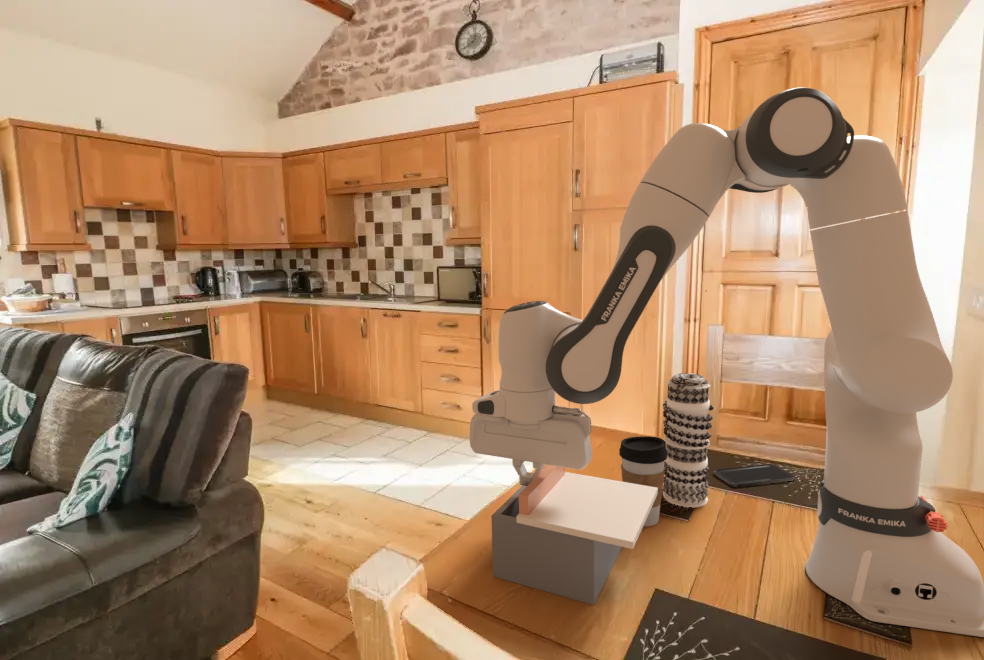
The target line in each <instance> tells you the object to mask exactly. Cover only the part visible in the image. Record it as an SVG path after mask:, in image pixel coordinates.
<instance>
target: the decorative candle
mask: <svg viewBox="0 0 984 660" xmlns="http://www.w3.org/2000/svg"><path fill="white" fill-rule="evenodd" d="M666 385H667V396H666V400H665V401H664V402H663V404H662V407H663V412H662V415H663V417H664V419H665V420H663V423H662V424H663V427H664V428H663V434H664V435H665V436H664V439H663V440H664V441H665V442H666V451H667V459H666V460H665V461H664V467H665V473H664V481H663V489H662V491H663V492H662V495H663V499H664V498H665V499H664V500H665V501H667V503H669V504H672V505H674V504H675V505H674V506H677V505H678V507H681V506H683V507H682V508H689V507H692V509H695V508H701V507H704V506H705V505H707V503H708V502H709V498H708V496H709V487H710V486H709V482H708V479H710V478H709V477H710V476H709V473H708V472H710V467H709V465H708V464H709V463H708V462H709V461H708V460H709V459H708V456H707V454H708V449H707V448H708V447H709V446H710V444H711V443H710V440H709V439H710V438H712V434H711V433H710V432H708V430H710V429H712V428H713V426H712V423H711V422H710V421H712V420H713V418H714V417H713V416H712V415H711V414H710V413H709V412H711V411H713V410H714V406H712V404H710V403H711V401H710V399H709V395H710V391H709V388H710V387H711V386H712V384H711V383H710V382H708V380H707V379H706V378H705V377H704V375H701V374H698V373H690V372H689V373H688V372H683V373H682V372H681V373H676V374H674V375H672V376H671V379H670V380H668V381H666ZM708 410H709V411H708Z"/></svg>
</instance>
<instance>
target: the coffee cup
mask: <svg viewBox="0 0 984 660" xmlns="http://www.w3.org/2000/svg"><path fill="white" fill-rule="evenodd" d="M666 447H667V443H666V442H665V440H664V439H663V438H661V437H657V436H650V435H648V436H647V435H645V436H643V435H642V436H641V435H640V436H631V437H626V438H623V439H622V440H621V441H620V448H618V449H619V454H618V455H619V457H620V458H621V464H620V469H621V478H622V479H621V480H622V482H627V483H633V484H639V485H645V486H651V487H657V488H658V494H657V496H656V499H655V501H654V503H653V505H652V508H651V510H650V512H649V514H648V517H647V519H646V521H645V523H644V526H643V527H652V526H655V525H657V524H658V523H659V521H660V511H661V503H662V498H663V497H662V495H663V485H664V483H663V481H664V477H665V475H664V473H665V467H664V462H665V460H666V459H667V451H666Z"/></svg>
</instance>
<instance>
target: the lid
mask: <svg viewBox="0 0 984 660" xmlns="http://www.w3.org/2000/svg"><path fill="white" fill-rule="evenodd" d="M657 494H658V488H657V487H651V486H645V485H639V484H633V483H627V482H623V480H622V481H620V480H614V479H608V478H604V477H603V478H602V477H599V476H598V477H597V476H591V475H586V474H585V475H584V474H579V473H575V472H574V473H573V472H568V471H566V468H565V467H559V466H553V465H546V466H545V467H544V469H543V470H542V472H541V473H540V474H539V475H538V476H537V477H536V478H535V479H534V480H533V481H532V482H531V483H530V484H529V485H528V486H527V487H526V488H525V489H524V490H523V491H522V492H521V493H520V494H519V514H518V515H517V516H516V521H517V523H520V524H525V525H529V526H533V527H538V528H542V529H547V530H551V531H555V532H560V533H564V534H569V535H573V536H577V537H582V538H586V539H591V540H595V541H599V542H604V543H608V544H613V545H617V546H621V547H622V548H626V549H630V550H634V548H635V545H636V544H637V541H638V539H639V537H640V535H641V533H642V531H643V528H644V527H645V526H644V523H645V521H646V519H647V517H648V514H649V512H650V510H651V508H652V505H653V503H654V501H655V499H656V496H657Z"/></svg>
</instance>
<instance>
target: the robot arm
mask: <svg viewBox="0 0 984 660" xmlns="http://www.w3.org/2000/svg"><path fill="white" fill-rule="evenodd" d="M848 134H849V135H850V136H848ZM789 185H790V186H791V187H792V188H793V189H794V190H796V191H797V192H798V193H799V195H800V197H801V198H802V199H803V202H804V205H805V207H806V210H807V219H808V225H809V227H808V228H809V230H810V231H809V232H810V233H809V234H810V239H811V244H812V245H811V246H812V252H813V257H814V263H815V269H816V273H817V281H818V286H819V289H820V292H821V294H822V297H823V301H824V304H825V308H826V312H827V317H828V319H829V323H830V326H831V330H830V331H829V333H828V334H827V336H826V338H825V342H824V346H823V347H824V354H823V355H824V356H823V357H824V361H823V364H824V365H823V367H824V368H823V369H824V370H823V371H824V377H823V378H824V380H823V381H824V404H825V408H824V409H825V421H826V435H825V436H826V437H825V438H826V439H825V457H824V472H823V479H822V480H821V481H820V483H819V490H818V494H817V513H816V514H817V517H818V525H817V531H816V535H815V539H814V542H813V547H812V549H811V551H810V554H809V557H808V559H807V560H806V562H805V567H804V569H805V571H806V574H807V576H808V578H809V579H810V580H811V581H812V582H813V583H814V585H816V587H819V588H820V590H822V591H824V592H825V593H826V594H828V595H829V596H832V597H833V598H836V599H837V600H839V601H841V602H843V603H845V605H847V606H850V608H851V609H853V610H854V611H855V612H856V613H857V614H859V615H860V616H861V617H863V618H864V619H866V620H869V621H871V622H877V623H882V624H887V625H889V624H890V625H896V626H902V627H903V626H905V627H910V628H916V629H917V628H918V629H924V630H932V631H938V632H946V633H952V634H958V635H967V636H973V637H981V638H984V581H983V577H982V575H981V574H982V573H981V572H980V570H979V568H978V566H977V565H976V563H975V562H974V559H973V558H972V557H970V555H969V554H968V553H967V552H966V551H965V550H964V549H963V548H962V547H960V546H959V545H958V544H956V543H955V542H954V541H953V540H952V539H950V538H949V537H947V536H946V535H944V534H943V532H945V531H947V529H948V522H947V521H946V520H945V518H944V516H943V515H942V514H941V513H939V512H936V508H935V507H934V506H933V505H932V504H931V503H929V502H928V501H927V499H926V498H925V497H924V496H923V495H920V496H919V492H920V491H919V490H920V478H921V468H922V459H923V458H922V457H923V444H922V443H923V442H922V439H921V434H920V430H919V426H918V419H917V418H918V417H917V412H918V413H919V412H922V411H925V410H928V409H930V408H932V407H934V406H935V405H938V403H939V402H941V401H942V400H943V399H944V398H945V396H946V395H947V394H948V392H949V390H950V389H951V386H952V383H953V377H954V376H953V374H954V373H953V367H952V365H951V362H950V359H949V357H948V355H947V354H946V352H945V350H944V347H943V344H942V341H941V339H940V335H939V331H938V328H937V324H936V322H935V318H934V315H933V312H932V309H931V306H930V303H929V299H928V297H927V295H926V292H925V290H924V287H923V284H922V282H921V278H920V274H919V269H918V266H917V262H916V261H917V260H916V256H915V248H914V243H913V236H912V231H911V230H912V229H911V224H910V217H909V210H908V205H907V199H906V196H905V191H904V186H903V182H902V180H901V175H900V172H899V169H898V167H897V165H896V162H895V159H894V157H893V154H892V152H891V151H890V148H889V146H888V145H887V143H886V142H885V141H883V140H882V139H880V138H878V137H875V136H869V135H855V130H854V128H853V126H852V125H851V124H850V123H849V122H848V121H847V120H846V119H845V118H844V116H843V114H842V112H841V110H840V108H839V107H838V105H837V104H836V102H834V100H833V99H832V98H830V97H829V96H828V95H827V94H825V93H824V92H822V90H819V89H815V88H811V87H794V88H791V89H790V88H789V89H786V90H783V91H780V92H778V93H776V94H774V95H772V96H770V97H768V98H767V99H765V100H764V101H763V102H762V103H761V104H760V105H759V106H758V107H756V109H755V110H754V111H752V112H751V113H750V114H749V115H748V116H747V117H746V118H745V119H744V120H743V121H742V123H741V124H740V125H739V126H738V127H736V128H734V129H721V128H719V127H718V126H716V125H712V124H709V123H704V122H694V123H689V124H686V125H684V126H682V127H681V128H679V129H678V130H677V131H676V132H675V133H674V135H673V136H672V137H671V138H670V139H669V140H668V142H667V143H666V144H665V145H664V146H663V148H662V149H661V150H660V152H658V154H657V156H655V158H654V160H653V161H652V163H651V164H650V165H649V168H648V169H647V170H646V172H645V173H644V175H643V177H642V179H641V180H640V181H639V183H638V185H637V187H636V188H635V190H634V191H633V192H634V193H633V194H632V197H631V198H630V201H629V203H628V206H627V207H626V210H625V213H624V215H623V219H622V221H621V225H620V228H619V243H618V250H617V255H616V258H615V262H614V265H613V267H612V269H611V271H610V274H609V276H608V277H607V279H606V281H605V283H604V284H603V285H602V287H601V289H600V291H599V293H598V294H597V296H596V297H595V300H594V302H593V303H592V305H591V307H590V309H589V310H588V312H587V314H586V316H585V317H584V318H583V319H581V318H578V317H575V316H572V315H569V314H567V313H565V312H562V311H561V310H559V309H557V308H556V307H554V306H553V305H551V304H550V303H549V302H547V301H545V300H536V301H535V300H534V301H533V300H532V301H527V302H523V303H519V304H516V305H513V306H511V307H509V308H508V309H506V311H504V312H503V314H502V315H501V316H500V320H499V327H498V362H499V365H500V368H501V375H500V380H499V389H498V390H494V391H491V392H488V393H486V394H484V395H481V396H480V397H478V398H476V399H475V400H474V401H473V402H472V403H471V405H472V406H471V407H472V412H473V416H471V419H470V424H469V447H470V448H471V450H472V452H474V453H475V454H479V455H484V456H491V457H499V458H504V459H511V461H512V462H511V463H512V466H513V468H514V470H515V471H516V474H517V475H518V478H519V480H518V481H519V486H522V485H523V486H528V485H529V484H530V483H531V482H532V481H533V480H534V479H535V478H536V477H537V476H538V475H539V474H540V473H541V472H542V471H543V470H544V469H545V468H546V466H548V465H553V466H559V467H565V469H573V470H578V471H581V470H584V469H585V468H586V467H587V466H588V465H589V463H590V462H591V461H592V458H593V455H592V445H591V444H592V443H591V442H592V441H591V438H590V437H591V433H592V420H591V419H592V418H591V417H590V416H589V415H588V414H587V412H584V411H583V410H582V408H577V407H574V408H572V407H571V408H570V407H566V406H561V405H560V406H558V405H556V394H557V396H559V397H561V398H562V399H564V400H565V401H568V402H570V403H573V404H579V405H589V404H594V403H599V402H600V401H602V400H604V399H606V398H607V397H608V396H610V394H612V393H613V392H614V390H615V389H616V387H617V386H618V383H619V382H620V378H621V373H622V368H623V367H622V366H623V365H622V364H623V355H624V350H625V347H626V343H627V341H628V339H629V337H630V335H631V334H632V331H633V330H634V328H635V326H636V325H637V322H638V321H639V319H640V317H641V315H642V314H643V312H644V311H645V309H646V306H647V305H648V303H649V301H650V300H651V298H652V297H653V294H654V293H655V292H656V289H657V287H658V286H659V284H660V283H661V281H662V280H663V279H664V277H665V276H666V275H667V274H668V272H669V271H670V270H671V269H672V267H673V266H674V265H675V264H676V262H677V261H678V260H679V259H680V258H681V257H682V255H683V254H684V253H685V252H686V251H687V249H688V248H689V247H690V246H691V245H692V243H693V242H694V240H695V239H696V238H697V236H698V235H699V233H701V231H702V229H703V228H704V226H705V224H707V223H706V222H708V219H709V218H710V217H711V215H712V213H713V211H714V210H715V208H716V206H717V204H718V203H719V201H720V199H721V198H722V197H723V196H724V195H725V194H726V192H727V191H728V190H729V189H731V190H737V191H742V192H748V193H755V194H756V193H757V194H761V193H763V194H764V193H769V192H773V191H775V190H778V189H780V188H783V187H787V186H789ZM525 462H528V463H532V468H533V469H534V470H535V471H534V472H530V471H529V472H528V471H527V468H526V467H525V464H524V463H525Z"/></svg>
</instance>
